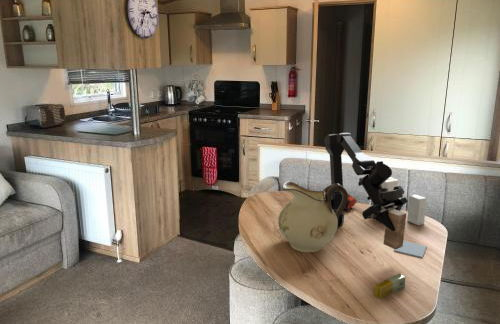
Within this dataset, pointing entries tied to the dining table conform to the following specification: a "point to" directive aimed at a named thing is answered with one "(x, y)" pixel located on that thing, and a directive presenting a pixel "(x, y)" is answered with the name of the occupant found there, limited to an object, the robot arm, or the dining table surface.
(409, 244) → the slate-blue rubber mat
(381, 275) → the dining table surface
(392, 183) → the milk carton
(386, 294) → the medication box
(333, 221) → the pitcher
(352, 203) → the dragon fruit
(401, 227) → the wooden block
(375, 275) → the dining table surface
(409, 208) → the skincare box
